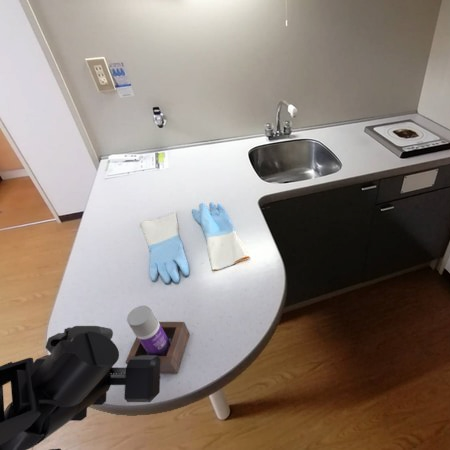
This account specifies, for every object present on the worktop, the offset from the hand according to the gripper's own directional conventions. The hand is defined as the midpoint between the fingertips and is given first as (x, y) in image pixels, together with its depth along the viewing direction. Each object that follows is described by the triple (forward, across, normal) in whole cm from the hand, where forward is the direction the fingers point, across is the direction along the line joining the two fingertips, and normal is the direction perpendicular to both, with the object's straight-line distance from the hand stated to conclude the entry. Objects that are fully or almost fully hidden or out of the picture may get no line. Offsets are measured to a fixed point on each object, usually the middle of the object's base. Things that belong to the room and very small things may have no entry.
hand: (127, 358), depth 55 cm
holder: (+14, 0, +4) cm, 15 cm away
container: (+14, 0, +4) cm, 15 cm away
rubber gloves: (+40, +4, -22) cm, 46 cm away
